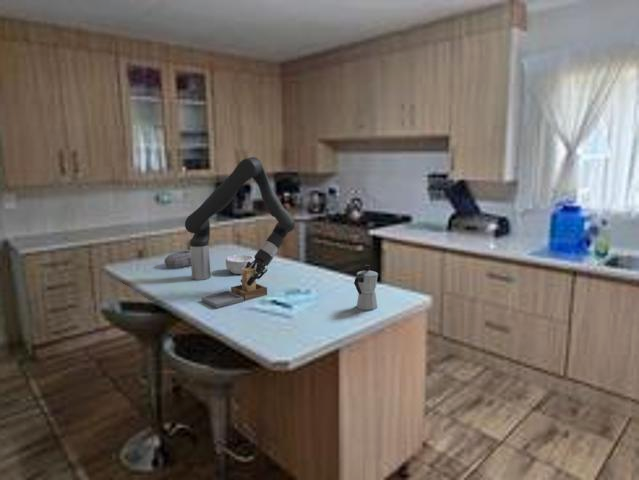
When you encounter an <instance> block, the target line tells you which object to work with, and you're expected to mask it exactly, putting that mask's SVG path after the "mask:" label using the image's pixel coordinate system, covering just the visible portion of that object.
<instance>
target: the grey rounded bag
mask: <svg viewBox="0 0 639 480" xmlns="http://www.w3.org/2000/svg"><path fill="white" fill-rule="evenodd" d="M163 263H164V264H165V267H166V268H167V269H184V268H183V267H186V268H190V267H189V266H191V253H190V250H187V249H186V250H180V251H178V252H173V253H171V254H168V255H167V256H166V257H165V258H164V262H163Z"/></svg>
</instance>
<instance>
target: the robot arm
mask: <svg viewBox="0 0 639 480" xmlns="http://www.w3.org/2000/svg"><path fill="white" fill-rule="evenodd" d="M250 179H253V180H254V182H256V185H257V187H258V189H259V192H260V195H261V198H262V202H263V204H264V206H265V208H266V209H267V210H268V212H269V214H270V216H271V217H272V218H274V219H276V221H277V223H276V224H275V227H274V228H273V230H272V232H271V233H270V235H269V236H268V238H267V239H266V240H265V241H264V243H263V244H262V245H260V248H259V249H258V250H257V252H256V254H254V256H253V257H254V261H253V262H252V263H250V262H248V263H247V265H246V267H245V268H249V267H250V268H253V269H255V270H254V271H253V272H254V273H253V274H252V277H250V279H249V280H248V282H247V283H246V284H247V285H248V286H251V285H252V283H253V282H254V280H261V278H262V277H263V276H264V275H265V274H266V273H267V272H268V268H267V267H268V266H269V265H270V263H271V262H272V261H273V259H274V257H275V256H276V254H277V253H278V250H279V249H280V248H281V247H282V245H283V243H284V239H285V238H286V237H287V235H288V234H289V233H290V232H292V231H294V230H295V227H296V222H295V220H294V218H293V216H292V215H291V214H290V213H289V212H288V211H287V209H285V208H284V205H283V204H282V202H281V200H280V199H279V197H278V196H277V194H276V191H275V190H274V188H273V186H272V184H271V182H270V180H269V178H268V175H267V173H266V171H265V168H264V165H263V163H262V161H261V160H260V159H259V158H257V157H255V156H252V157H246V158H243V159H241V161H240V162H239V163H238V164H237V166H235V168H234V170H233V171H232V172H231V174H230V175H229V176H228V177H226V179H224V181H222V182H221V183H220V184H219V185H218V186H217V187H216V188H215V189H214V190H213V191H212V192H211V194H210V195H209V196H208V197H206V199H205V200H204V202H202V204H201V205H200V206H198V208H197V209H196V210H194V211H193V212H192V213H190V215H188V216H187V218H186V219H185V221H184V228H185V230H186V231H187V232H188V233H190V234H191V233H192V234H193V236H192V237H191V239H190V240H189V251H190V253H191V278H192V280H195V281H203V280H204V281H205V280H209V279H210V278H211V275H212V274H211V260H210V258H211V257H210V248H209V247H210V246H209V245H210V244H209V242H210V238H211V223H210V218H211V217H213V216H215V215H216V214H217V213H219V212H221V211H223V210H224V209H225V208H226V207H227V206H228V205H229V204H230V203H231V202H232V201H233V200H234V199H235V197H236V196H237V193H238V192H239V190H240V188H242V187H243V185H244V184H246V182H248V181H249V180H250ZM240 283H242V278H241V279H240Z"/></svg>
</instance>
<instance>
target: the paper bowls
mask: <svg viewBox="0 0 639 480" xmlns="http://www.w3.org/2000/svg"><path fill="white" fill-rule="evenodd" d="M254 260H255V258H254V256H253V255H250V254H249V255H248V254H235V255H229V256H227V257H226V258H225V268H226V269H228V270H230V273H232V274H235V275H242V272H241V269H244V268H245V267H246V265H247V263H248V262H250V263H252V262H253V261H254Z"/></svg>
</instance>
